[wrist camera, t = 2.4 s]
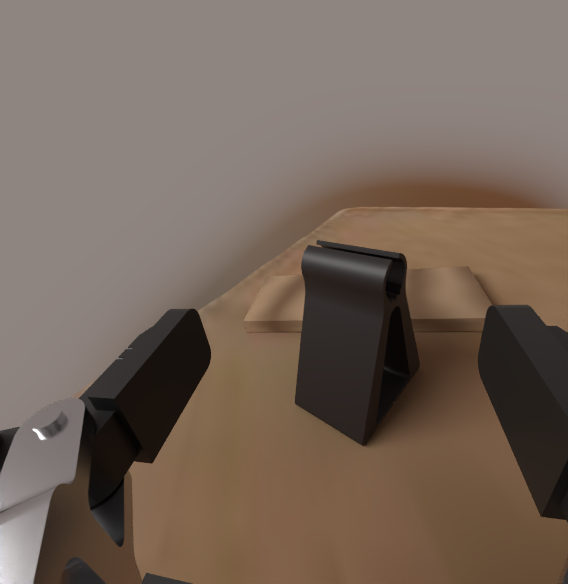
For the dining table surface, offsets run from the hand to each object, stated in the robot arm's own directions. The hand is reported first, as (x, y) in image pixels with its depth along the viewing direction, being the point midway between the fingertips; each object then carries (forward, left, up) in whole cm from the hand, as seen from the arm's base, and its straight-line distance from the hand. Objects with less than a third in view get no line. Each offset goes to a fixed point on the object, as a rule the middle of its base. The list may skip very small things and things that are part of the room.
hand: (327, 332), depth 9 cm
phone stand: (0, -11, -14) cm, 18 cm away
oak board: (0, -23, -14) cm, 27 cm away
